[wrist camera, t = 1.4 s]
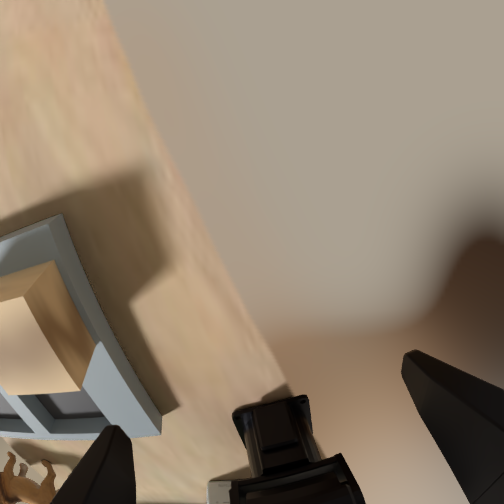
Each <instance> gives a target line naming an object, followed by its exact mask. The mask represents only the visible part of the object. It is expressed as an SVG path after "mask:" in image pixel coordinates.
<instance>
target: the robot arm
mask: <svg viewBox="0 0 504 504" xmlns="http://www.w3.org/2000/svg"><path fill="white" fill-rule="evenodd" d="M401 374H402V378H403V380H404V382H405V384H406V386H407V388H408V391H409V393H410V395H411V397H412V399H413V402H414V404H415V406H416V408H417V410H418V413H419V415H420V416H421V418H422V420H423V421H424V423H425V425H426V427H427V428H428V430H429V431H430V433H431V435H432V437H433V438H434V440H435V442H436V444H437V445H438V447H439V449H440V450H441V452H442V454H443V456H444V457H445V459H446V461H447V463H448V464H449V466H450V468H451V470H452V471H453V473H454V475H455V477H456V479H457V481H458V482H459V484H460V486H461V488H462V490H463V492H464V494H465V495H466V497H467V499H468V501H469V503H470V504H504V390H503V389H501V388H499V387H497V386H495V385H492V384H490V383H488V382H486V381H484V380H482V379H479V378H477V377H475V376H473V375H471V374H468V373H466V372H464V371H462V370H460V369H458V368H455V367H453V366H451V365H449V364H447V363H445V362H442V361H440V360H438V359H436V358H434V357H432V356H429V355H428V354H425V353H423V352H421V351H419V350H412V351H410V352H407V353H405V355H404V357H403V363H402V370H401ZM232 419H233V422H234V424H235V426H236V428H237V431H238V433H239V435H240V437H241V439H242V442H243V444H244V446H245V448H246V450H247V454H248V460H249V465H250V470H251V476H252V478H249V479H244V480H232V481H231V489H230V490H229V497H230V504H366V503H365V500H364V497H363V494H362V492H361V489H360V487H359V485H358V484H357V482H356V480H355V478H354V476H353V474H352V472H351V471H350V468H349V467H348V465H347V463H346V461H345V459H344V457H343V456H342V454H341V453H339V454H336V455H334V456H333V457H330V458H327V459H324V460H321V457H320V454H319V451H318V449H317V446H316V443H315V440H314V437H313V435H312V434H313V430H312V422H311V413H310V405H309V399H308V397H307V395H299V396H296V397H292V398H288V399H285V400H281V401H277V402H273V403H269V404H265V405H261V406H257V407H253V408H248V409H244V410H239V411H235V412H233V413H232ZM49 504H136V481H135V471H134V461H133V450H132V442H131V440H130V438H129V437H128V436H127V434H126V433H125V432H124V431H123V429H122V428H121V427H120V426H119V425H107V426H106V427H105V428H104V429H103V430H102V432H101V433H100V434H99V436H98V437H97V438H96V440H95V441H94V443H93V444H92V445H91V447H90V448H89V449H88V451H87V452H86V453H85V455H84V456H83V458H82V459H81V460H80V462H79V463H78V464H77V466H76V467H75V469H74V470H73V471H72V473H71V474H70V476H69V477H68V478H67V480H66V481H65V482H64V484H63V485H62V487H61V488H60V489H59V491H58V492H57V494H56V495H55V496H54V498H53V499H52V502H50V503H49Z"/></svg>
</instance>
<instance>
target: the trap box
mask: <svg viewBox="0 0 504 504" xmlns="http://www.w3.org/2000/svg"><path fill="white" fill-rule="evenodd" d="M52 260H55V263H56V265H57V267H58V270H59V272H60V274H61V277H62V279H63V281H64V283H65V285H66V288H67V290H68V292H69V294H70V296H71V298H72V300H73V302H74V304H75V306H76V308H77V310H78V312H79V314H80V316H81V318H82V320H83V322H84V324H85V326H86V328H87V330H88V332H89V333H90V335H91V337H92V339H93V341H94V342H95V344H96V347H95V350H94V352H93V355H92V358H91V361H90V364H89V367H88V369H87V372H86V375H85V378H84V381H83V384H82V387H81V391H74V392H62V393H48V394H30V395H8V394H7V393H6V391H5V390H4V389H3V387H2V386H1V385H0V436H2V437H12V438H25V439H41V440H96V438H97V437H98V436H99V434H100V433H101V432H102V430H103V429H104V428H105V427H106V426H107V425H119V426H120V427H121V428H122V429H123V431H124V432H125V433H126V434H127V436H128V437H129V438H137V437H148V436H157V435H161V430H162V416H161V414H160V413H159V411H158V410H157V408H156V406H155V405H154V403H153V402H152V400H151V399H150V397H149V395H148V394H147V392H146V391H145V389H144V387H143V386H142V384H141V382H140V381H139V379H138V377H137V376H136V374H135V372H134V370H133V369H132V367H131V365H130V363H129V362H128V360H127V358H126V356H125V354H124V353H123V351H122V349H121V347H120V345H119V343H118V341H117V339H116V338H115V336H114V334H113V332H112V330H111V328H110V326H109V324H108V322H107V320H106V318H105V316H104V314H103V312H102V310H101V308H100V305H99V303H98V301H97V299H96V297H95V295H94V292H93V290H92V288H91V286H90V283H89V281H88V279H87V277H86V274H85V272H84V270H83V267H82V265H81V262H80V260H79V257H78V255H77V252H76V250H75V247H74V245H73V242H72V239H71V237H70V234H69V231H68V229H67V226H66V223H65V220H64V217H63V214H62V213H61V214H58V215H55V216H53V217H50V218H47V219H45V220H42V221H39V222H37V223H34V224H32V225H29V226H26V227H24V228H21V229H19V230H16V231H14V232H11V233H9V234H7V235H4V236H2V237H0V277H2V276H5V275H8V274H11V273H14V272H17V271H20V270H23V269H26V268H29V267H33V266H36V265H39V264H42V263H45V262H48V261H52Z"/></svg>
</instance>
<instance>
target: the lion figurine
mask: <svg viewBox="0 0 504 504" xmlns="http://www.w3.org/2000/svg"><path fill="white" fill-rule="evenodd" d="M8 456H9V457H10V459H9V460H8V462H7V464H6V466H5V468H4V472H0V504H15V503H17V502H26V503H29V504H49V503H50V502H52V499H53V498H54V496H55V495H56V494H57V492H58V491H59V489H58V490H57V491H55V487H54V479H55V477H56V474H55V472H54V470H53V468H52V465H51V464H50V462H48V461H46V460H42V464H43V465H44V466H45V467H47V469H48V474H47V476H46V478H45V479H44V480H43V482H42V483H41V486H40V485H38V484H37V483H36V482H34V481H33V480H31V479H29V478H26V477H25V475H26V473H27V470H28V467H27V466H26V465H25V464H23V463H21V464H20V473H19V475H18V476H14V473H13V467H14V464H15V462H16V458H15V455H13V454H12V453H11V452H8ZM69 476H70V475H69ZM69 476H68V477H69Z"/></svg>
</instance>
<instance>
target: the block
mask: <svg viewBox="0 0 504 504" xmlns="http://www.w3.org/2000/svg"><path fill="white" fill-rule="evenodd" d="M95 347H96V344H95V342H94V341H93V339H92V337H91V335H90V333H89V332H88V330H87V328H86V326H85V324H84V322H83V320H82V318H81V316H80V314H79V312H78V310H77V308H76V306H75V304H74V302H73V300H72V298H71V296H70V294H69V292H68V290H67V288H66V285H65V283H64V281H63V279H62V277H61V274H60V272H59V270H58V267H57V265H56V263H55V260H52V261H48V262H45V263H42V264H39V265H36V266H33V267H29V268H26V269H23V270H20V271H17V272H14V273H11V274H8V275H5V276H2V277H0V385H1V386H2V387H3V389H4V390H5V391H6V393H7V394H8V395H30V394H48V393H62V392H74V391H81V387H82V384H83V381H84V378H85V375H86V372H87V369H88V367H89V364H90V361H91V358H92V355H93V352H94V350H95Z"/></svg>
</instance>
